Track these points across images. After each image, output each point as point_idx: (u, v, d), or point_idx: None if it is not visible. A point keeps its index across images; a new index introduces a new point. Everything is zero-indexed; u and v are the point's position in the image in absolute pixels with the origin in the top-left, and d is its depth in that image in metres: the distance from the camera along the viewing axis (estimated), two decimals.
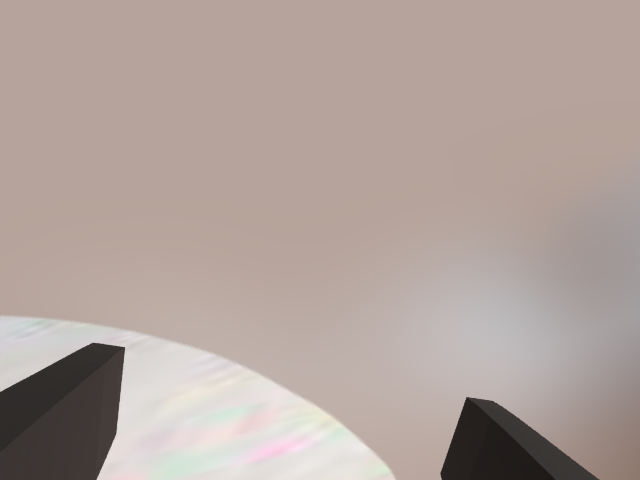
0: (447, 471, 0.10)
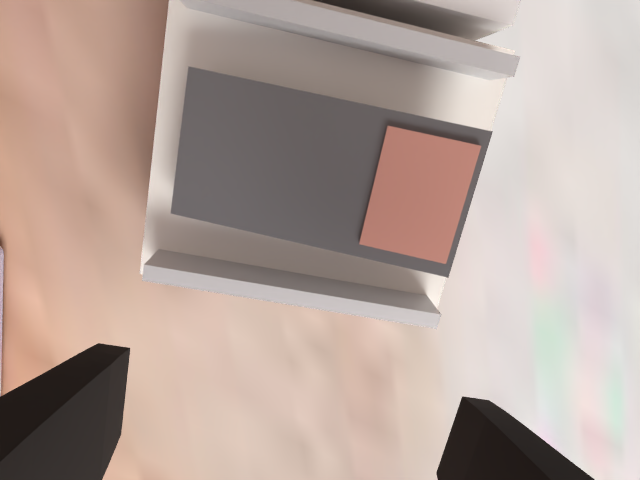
0: (443, 470, 0.10)
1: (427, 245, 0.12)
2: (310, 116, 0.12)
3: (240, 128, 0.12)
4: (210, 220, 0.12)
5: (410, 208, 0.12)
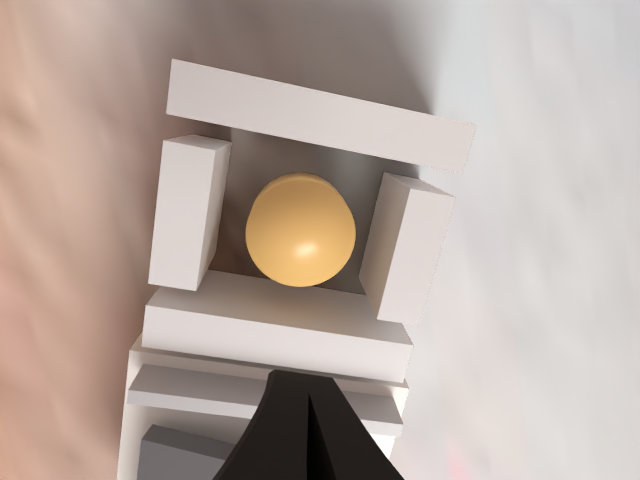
0: None
1: None
2: None
3: None
4: None
5: None
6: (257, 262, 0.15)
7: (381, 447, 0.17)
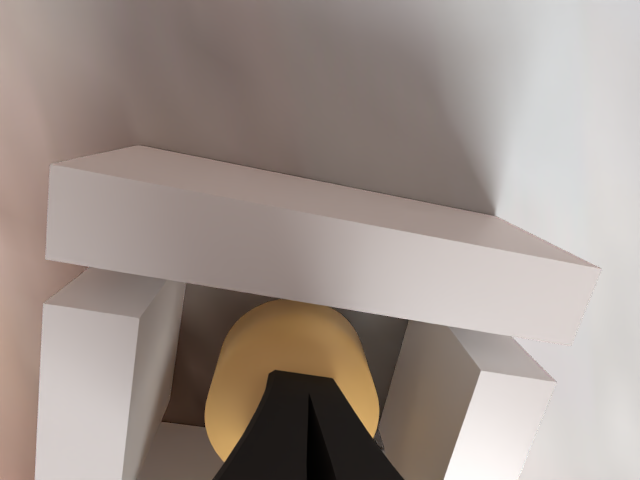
0: None
1: None
2: None
3: None
4: None
5: None
6: (224, 456, 0.09)
7: None
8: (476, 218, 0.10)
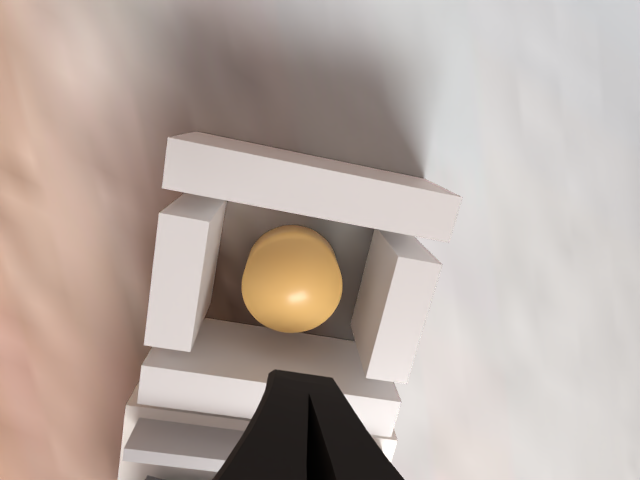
0: None
1: None
2: None
3: None
4: None
5: None
6: (252, 310, 0.16)
7: None
8: (407, 177, 0.16)
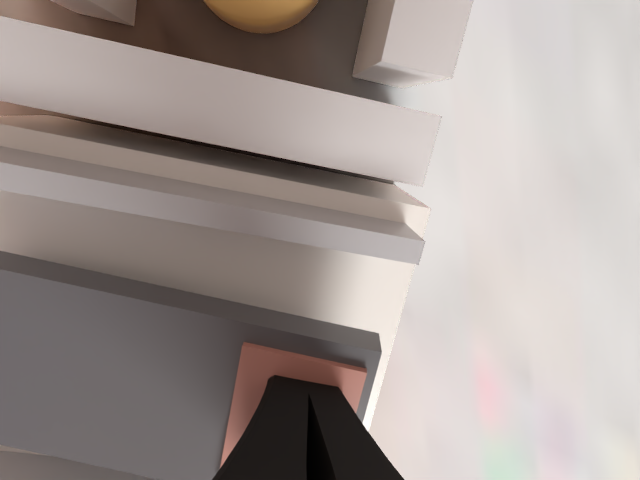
0: None
1: None
2: (141, 327, 0.08)
3: (48, 340, 0.09)
4: (22, 446, 0.09)
5: None
6: None
7: (385, 311, 0.11)
8: None
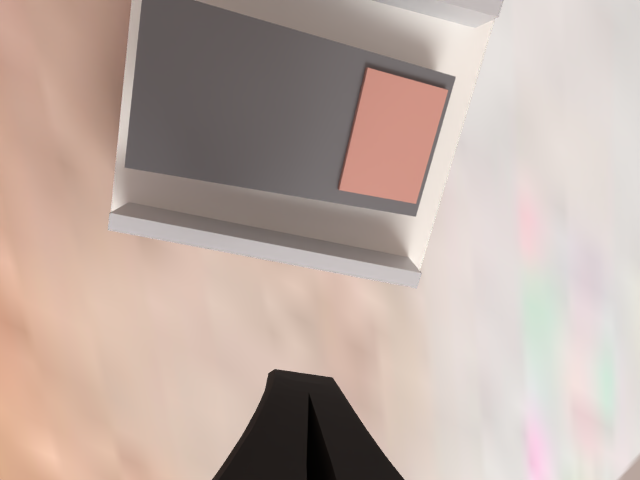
0: None
1: (400, 187, 0.12)
2: (289, 54, 0.11)
3: (210, 65, 0.10)
4: (175, 173, 0.11)
5: (385, 151, 0.12)
6: None
7: (459, 90, 0.13)
8: None
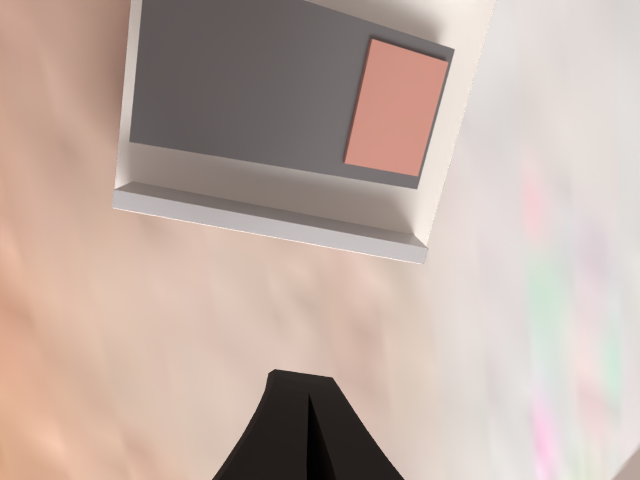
0: None
1: (403, 159, 0.13)
2: (295, 24, 0.11)
3: (216, 35, 0.10)
4: (181, 148, 0.11)
5: (388, 124, 0.12)
6: None
7: (464, 64, 0.13)
8: None
